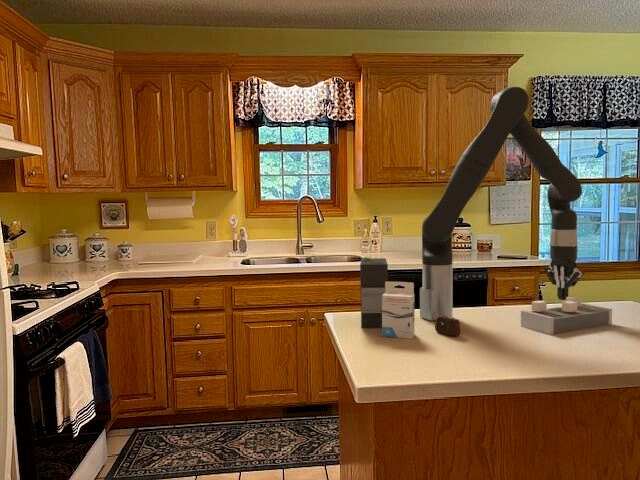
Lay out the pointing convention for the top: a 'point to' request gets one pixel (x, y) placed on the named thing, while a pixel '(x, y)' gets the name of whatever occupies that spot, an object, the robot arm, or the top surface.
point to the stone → (448, 326)
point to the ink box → (398, 310)
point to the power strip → (566, 319)
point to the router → (372, 290)
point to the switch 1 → (539, 306)
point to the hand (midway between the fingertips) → (562, 299)
